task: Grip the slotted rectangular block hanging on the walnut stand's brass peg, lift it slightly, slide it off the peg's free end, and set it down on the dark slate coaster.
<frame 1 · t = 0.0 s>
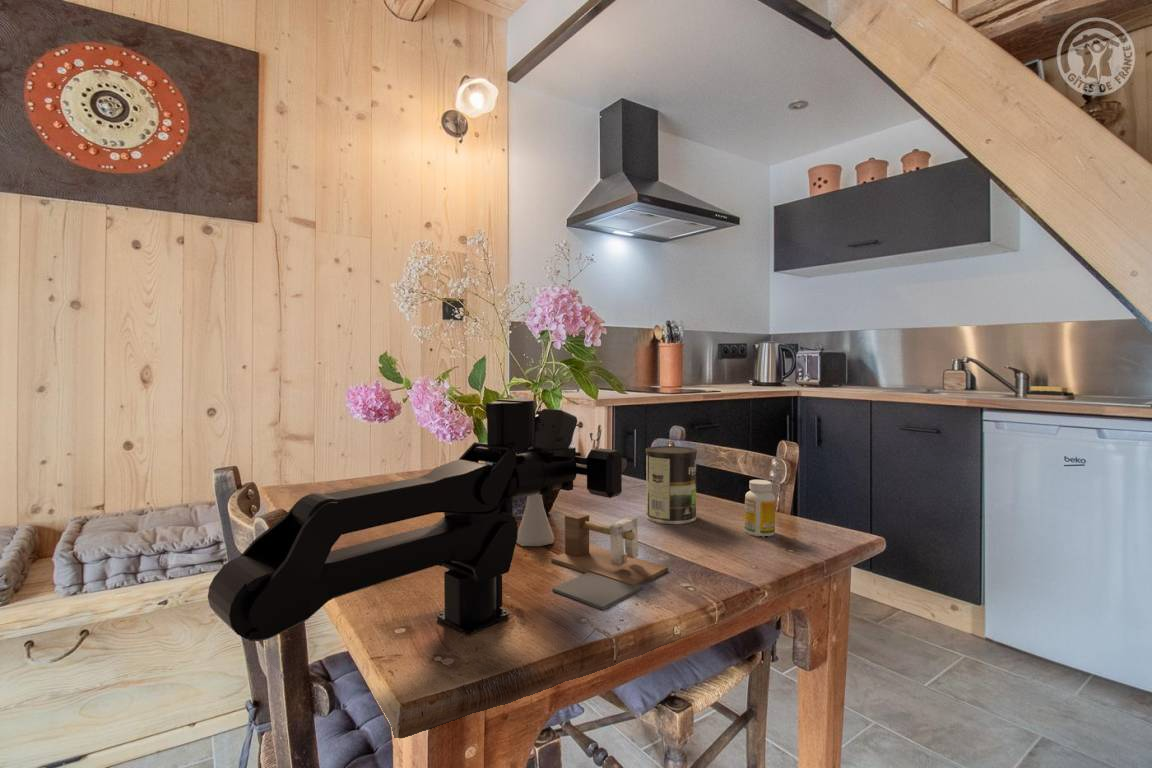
hand: (602, 459, 87), 17 cm above the table, tool horizontal, fingers open, 9 cm apart
link stand: (605, 565, 86), on the table
slate coaster: (598, 589, 77), on the table
slotted rectangular block: (625, 560, 84), point 2 cm above the table, touching link stand
supplement bottle: (759, 534, 103), on the table
flask: (534, 542, 99), on the table
coffee can: (670, 518, 113), on the table
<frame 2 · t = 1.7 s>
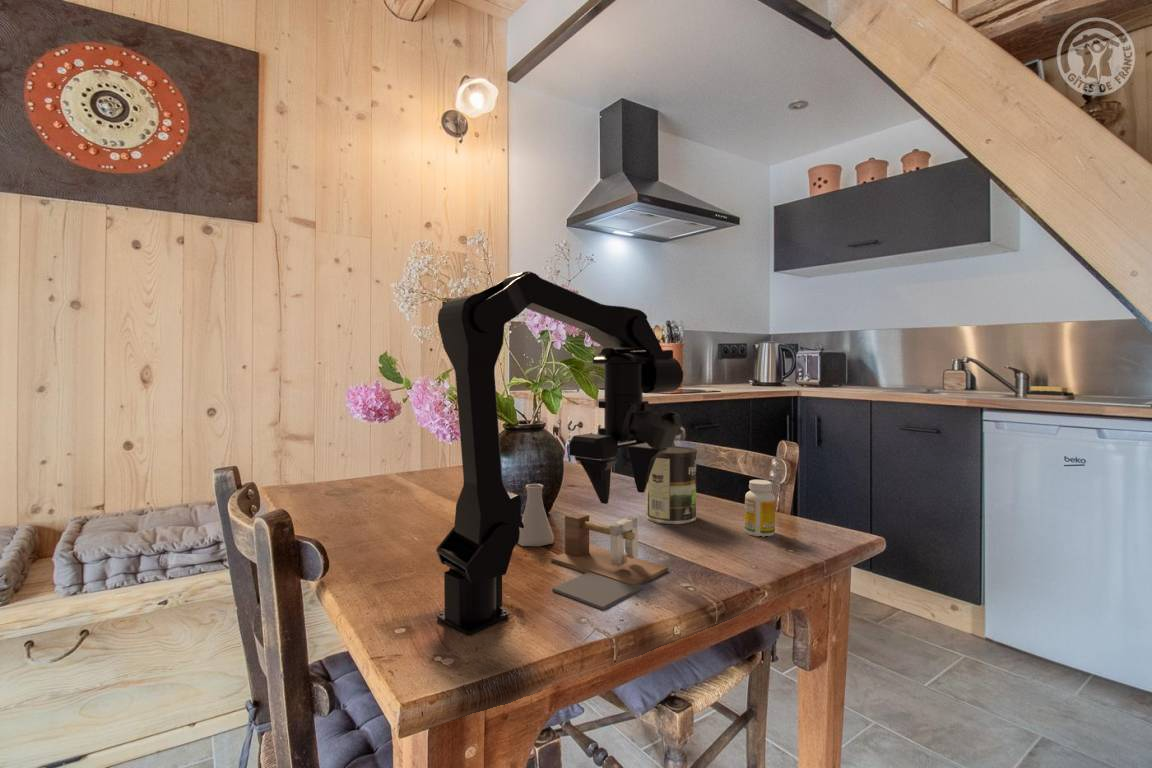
hand: (623, 497, 84), 11 cm above the table, tool pointing down, fingers open, 9 cm apart
nothing on the table moved.
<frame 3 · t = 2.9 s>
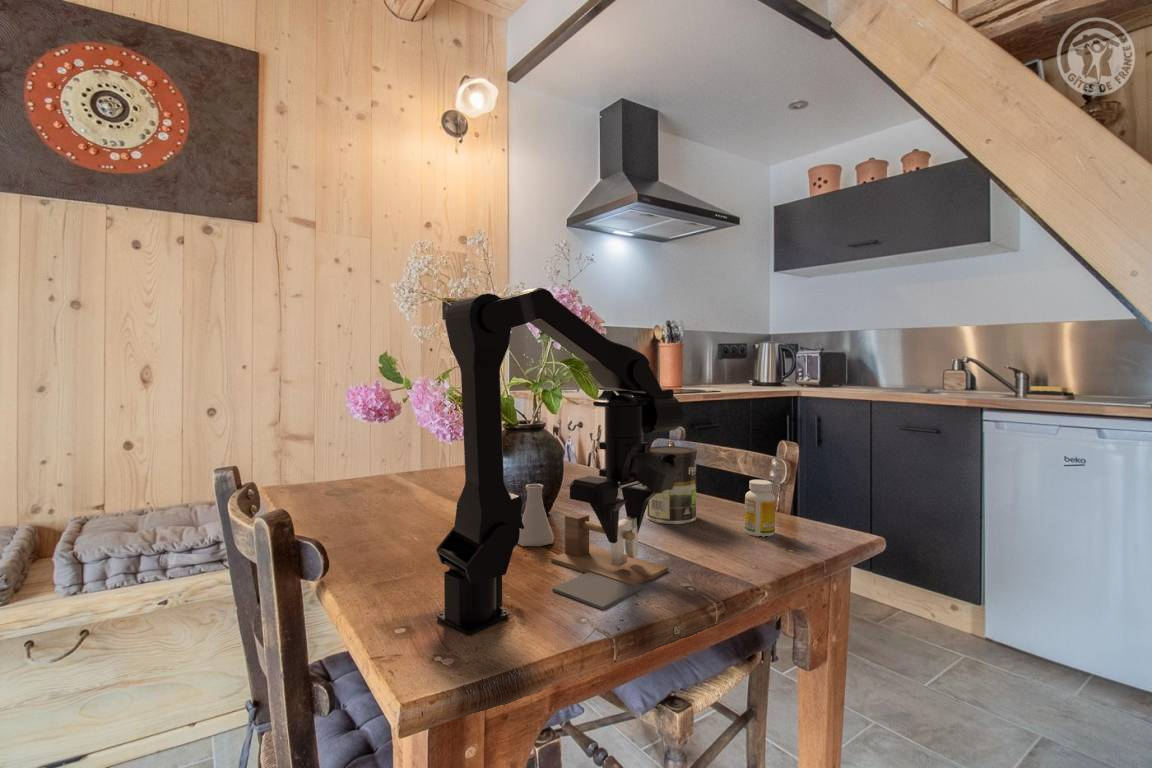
hand: (623, 538, 84), 5 cm above the table, tool pointing down, fingers closed on slotted rectangular block, 5 cm apart
slotted rectangular block: (625, 559, 84), point 2 cm above the table, tilted 5°, touching gripper, link stand
everything else where it was.
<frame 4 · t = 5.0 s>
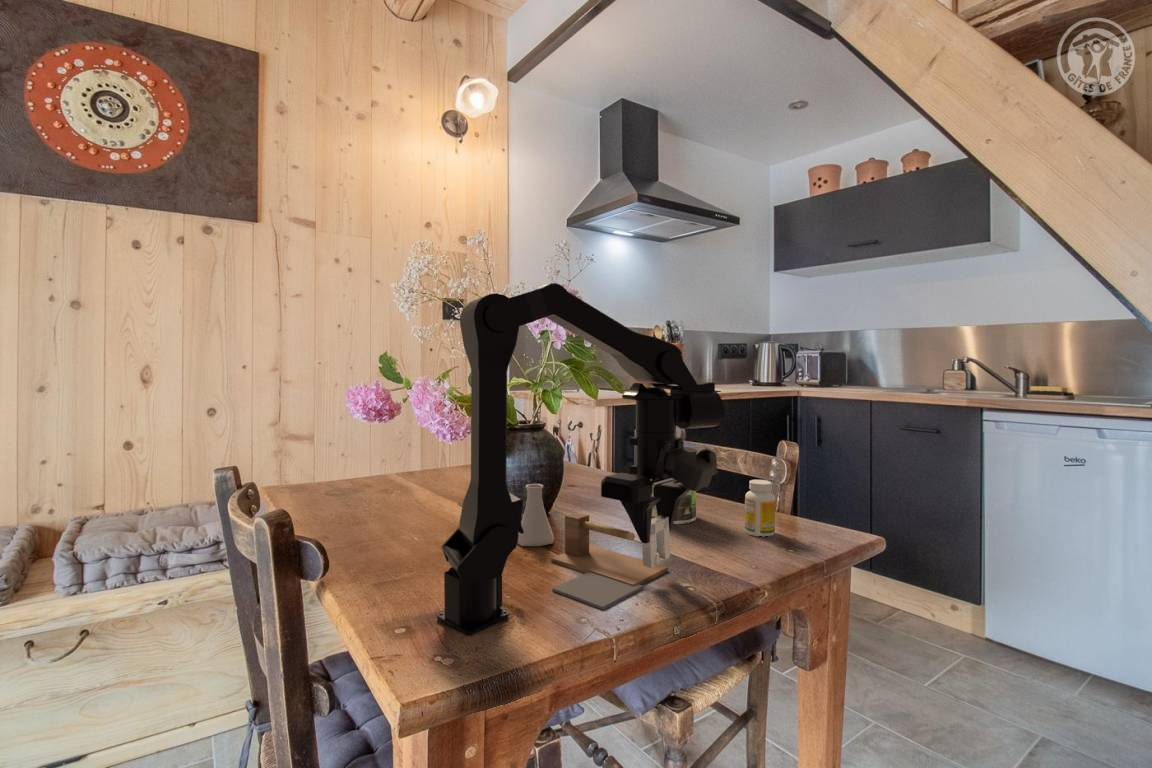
hand: (655, 538, 80), 6 cm above the table, tool pointing down, fingers closed on slotted rectangular block, 5 cm apart
slotted rectangular block: (657, 560, 81), point 3 cm above the table, tilted 5°, touching gripper
everything else where it was.
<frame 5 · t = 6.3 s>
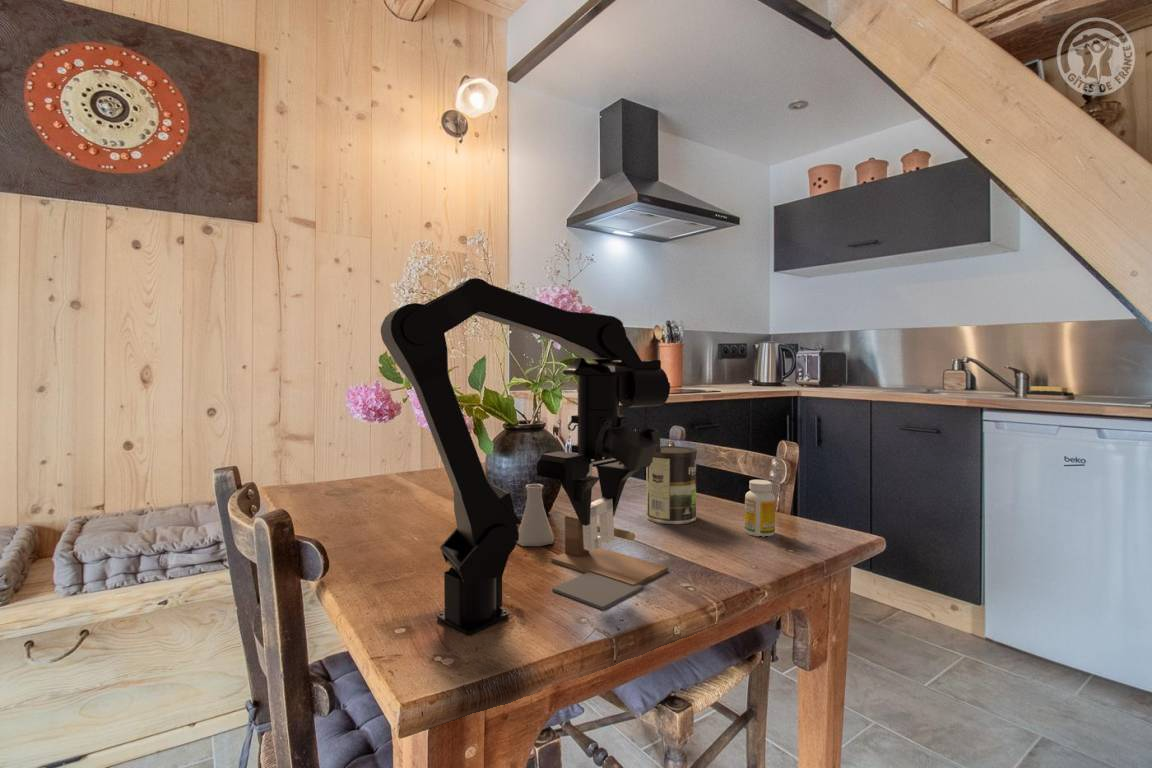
hand: (597, 520, 77), 10 cm above the table, tool pointing down, fingers closed on slotted rectangular block, 5 cm apart
slotted rectangular block: (599, 544, 77), point 6 cm above the table, touching gripper
everything else where it was.
when the fingers open (5 cm above the table, at t = 7.5 s): slotted rectangular block drops 1 cm, resting on slate coaster.
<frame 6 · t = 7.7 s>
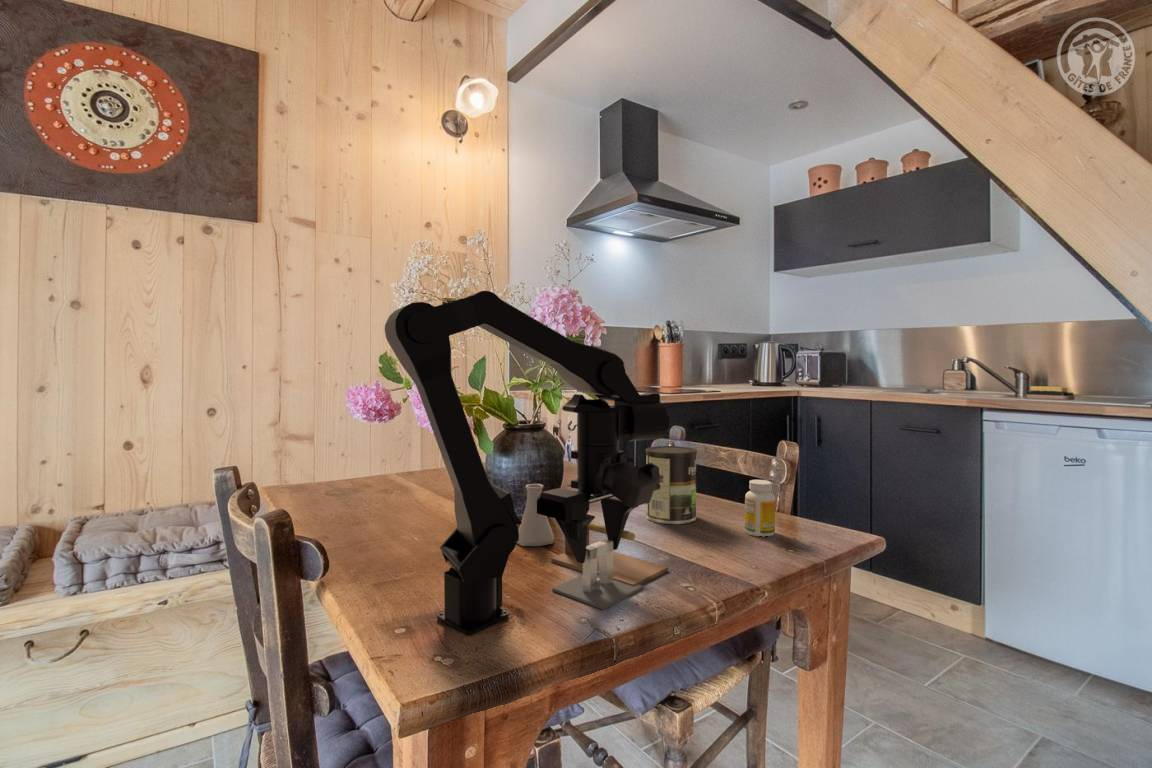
hand: (597, 555, 77), 5 cm above the table, tool pointing down, fingers open, 7 cm apart
slotted rectangular block: (598, 586, 77), resting on slate coaster
everything else where it was.
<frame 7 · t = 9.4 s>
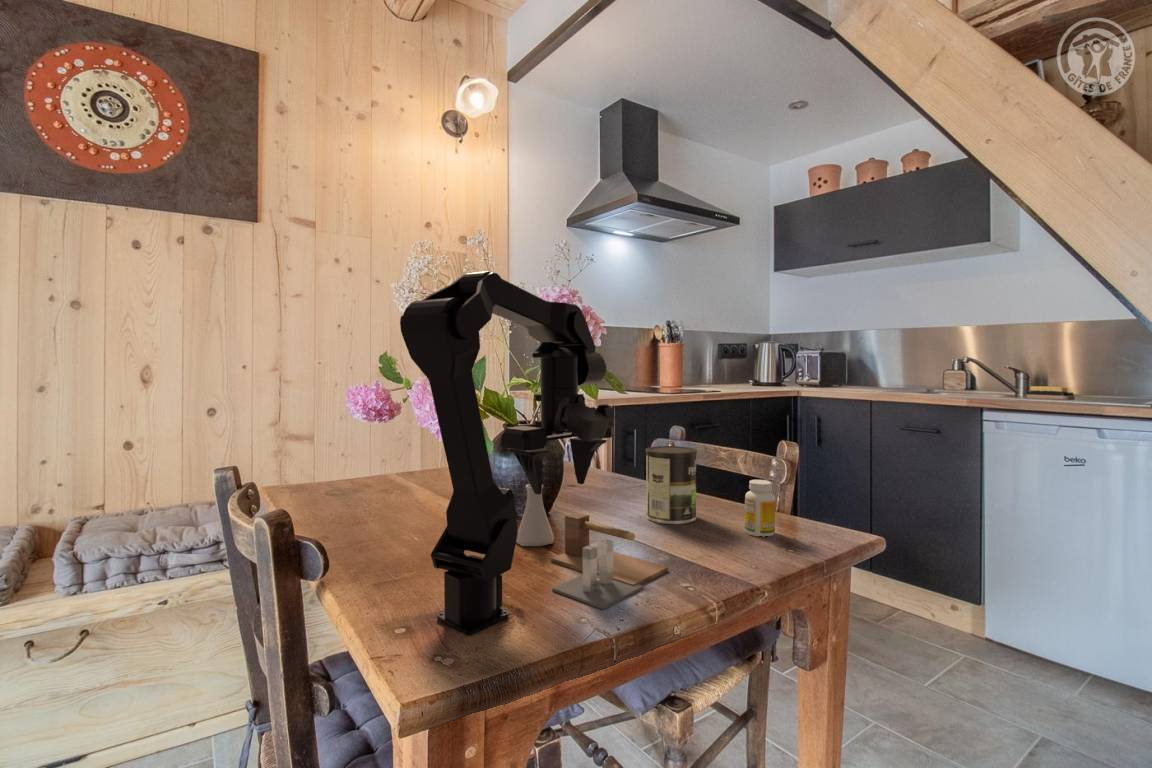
hand: (560, 488, 85), 12 cm above the table, tool pointing down, fingers open, 9 cm apart
nothing on the table moved.
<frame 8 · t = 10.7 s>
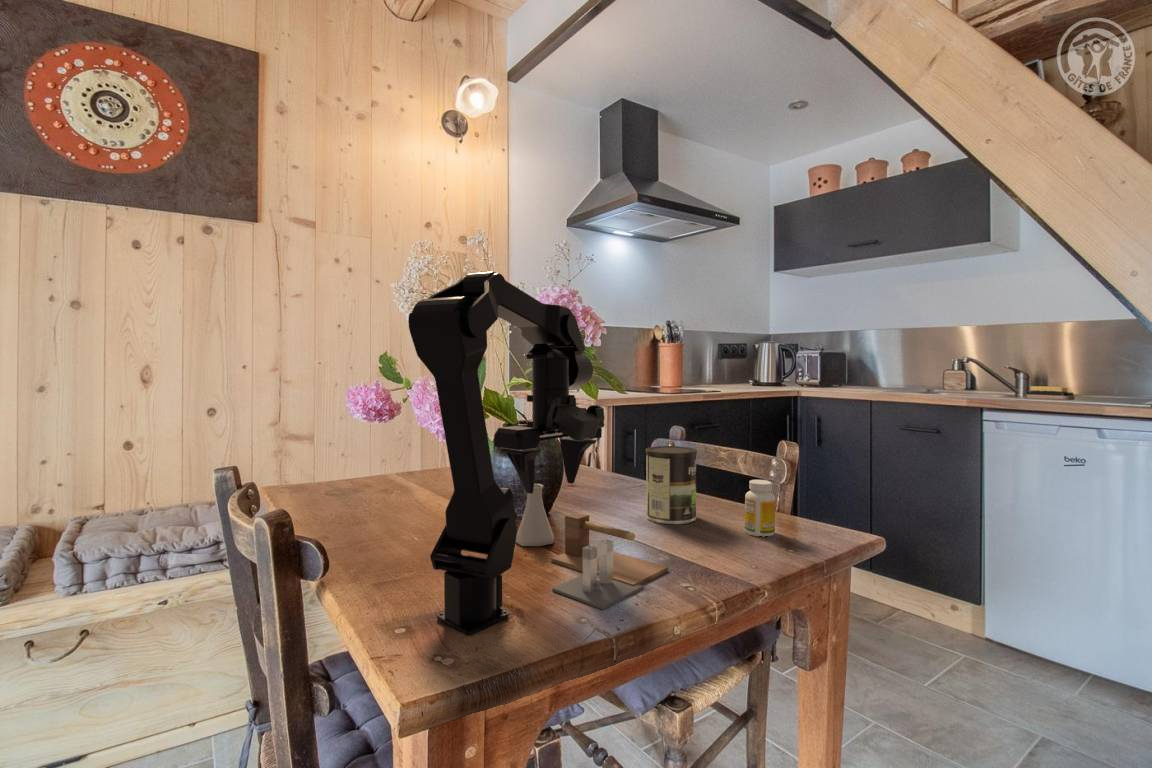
hand: (551, 488, 87), 12 cm above the table, tool pointing down, fingers open, 9 cm apart
nothing on the table moved.
at the end: slotted rectangular block 0.0 cm from the slate coaster (horizontally); slotted rectangular block resting on slate coaster; the gripper is holding nothing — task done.
